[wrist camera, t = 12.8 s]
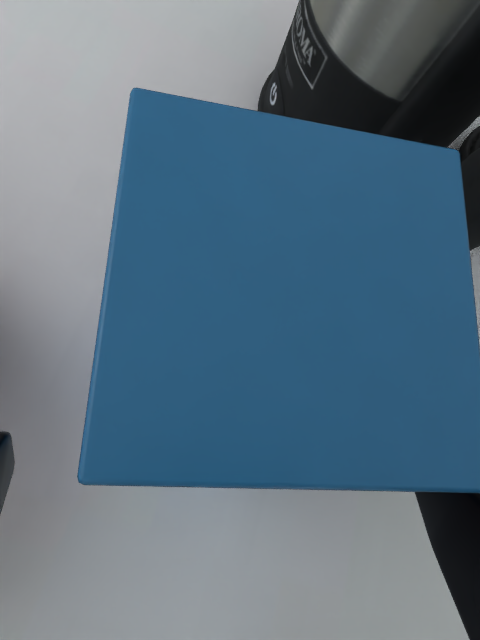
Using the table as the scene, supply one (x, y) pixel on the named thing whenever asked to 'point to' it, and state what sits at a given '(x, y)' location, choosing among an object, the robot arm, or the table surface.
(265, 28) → the table surface
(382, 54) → the milk frother
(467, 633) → the robot arm
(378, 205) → the blue rectangular block
